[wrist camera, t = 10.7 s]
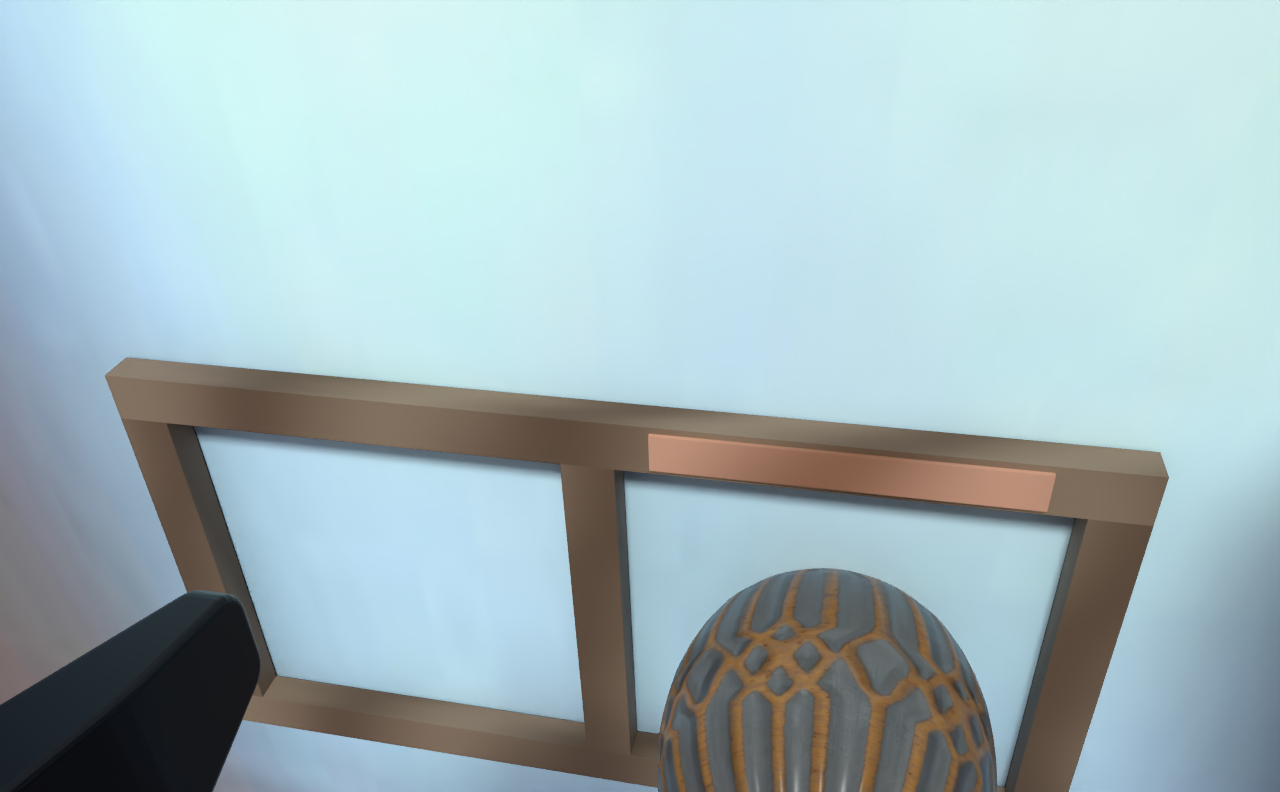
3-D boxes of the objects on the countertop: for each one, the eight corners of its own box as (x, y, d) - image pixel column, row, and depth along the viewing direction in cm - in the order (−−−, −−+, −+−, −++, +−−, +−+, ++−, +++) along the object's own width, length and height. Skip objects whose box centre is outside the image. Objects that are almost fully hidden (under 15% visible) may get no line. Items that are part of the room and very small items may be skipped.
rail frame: (1159, 452, 20) (1169, 480, 19) (1045, 823, 27) (1049, 855, 26) (125, 357, 24) (102, 377, 24) (249, 696, 31) (233, 721, 30)
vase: (834, 466, 22) (802, 834, 15) (1049, 649, 23) (1114, 1062, 16) (632, 612, 26) (529, 964, 18) (830, 762, 27) (804, 1138, 20)
